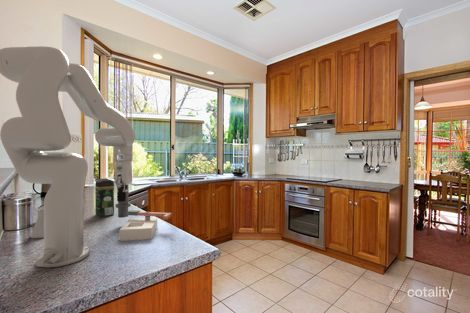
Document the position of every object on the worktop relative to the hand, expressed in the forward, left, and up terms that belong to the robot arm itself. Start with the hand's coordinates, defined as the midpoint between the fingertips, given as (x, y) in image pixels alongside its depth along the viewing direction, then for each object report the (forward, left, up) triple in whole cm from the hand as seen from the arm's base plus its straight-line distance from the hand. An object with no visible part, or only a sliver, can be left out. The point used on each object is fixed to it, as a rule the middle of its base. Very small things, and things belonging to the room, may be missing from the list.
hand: (123, 199), depth 99 cm
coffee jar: (+20, +14, -11) cm, 27 cm away
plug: (0, 0, -7) cm, 7 cm away
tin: (+10, +32, -12) cm, 35 cm away
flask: (-8, +26, -11) cm, 30 cm away
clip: (-9, -12, -6) cm, 16 cm away
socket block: (-12, -9, -11) cm, 19 cm away
